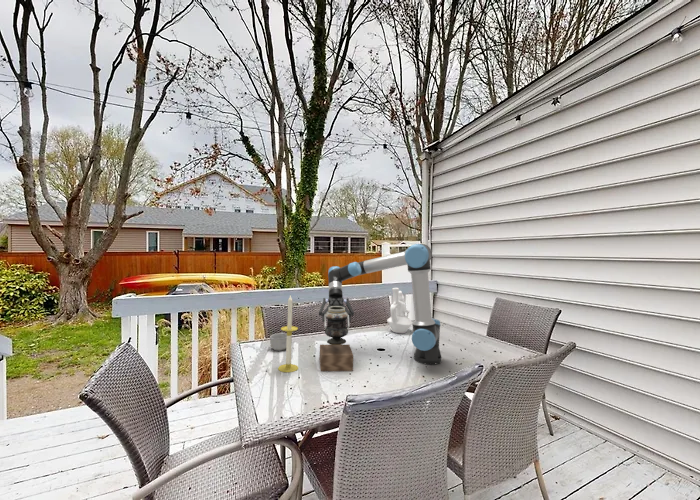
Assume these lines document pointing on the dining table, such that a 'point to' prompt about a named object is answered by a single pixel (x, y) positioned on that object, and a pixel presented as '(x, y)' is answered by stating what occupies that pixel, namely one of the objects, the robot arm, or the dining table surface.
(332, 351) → the walnut stand
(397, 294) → the white tall piece
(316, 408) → the dining table surface
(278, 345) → the teacup
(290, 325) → the rod with yellow discs
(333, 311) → the apothecary jar
